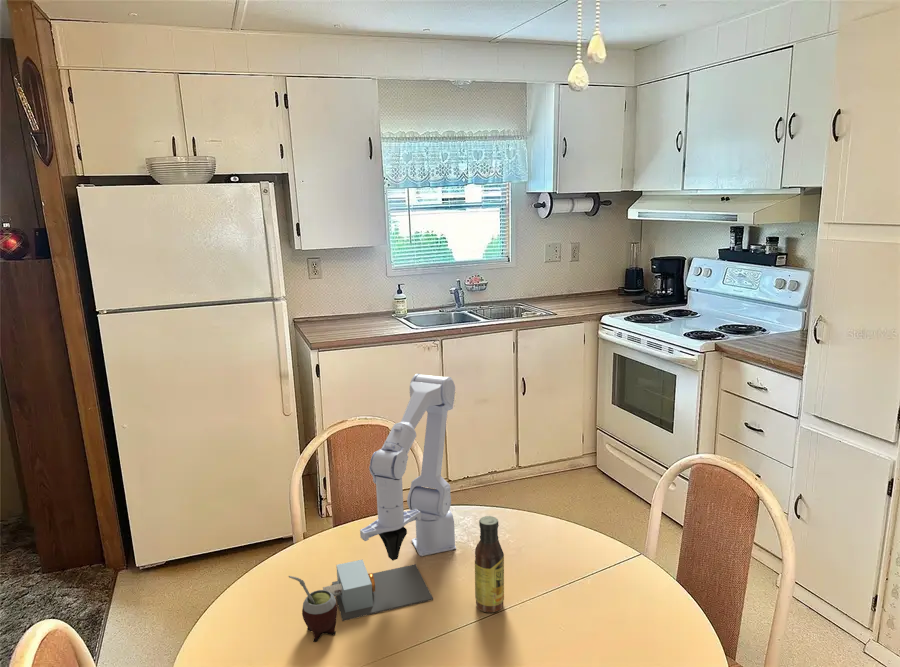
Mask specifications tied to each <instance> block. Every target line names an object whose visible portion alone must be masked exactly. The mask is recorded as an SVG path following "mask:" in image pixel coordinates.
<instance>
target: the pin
mask: <svg viewBox="0 0 900 667" xmlns="http://www.w3.org/2000/svg"><path fill="white" fill-rule="evenodd" d="M373 573H374V572H371V573H370V572H369V573H368V575H369V578H370V581H371V583H372V592H375V581H374V576H373ZM322 590H326V591H329V592H330V593H332V594H333V596H334V597H335V598H336V596H340V595H342V586H341V583H340V584H336V585H326V586H323V587H322Z"/></svg>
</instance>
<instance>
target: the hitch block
mask: <svg viewBox="0 0 900 667" xmlns="http://www.w3.org/2000/svg"><path fill="white" fill-rule="evenodd" d="M335 565H336V566H335V567H336V576H337V577H336V578H337V579H336V581H338V584H340V583H341V586H342V595H340V596H341V599H342V603H343V606H344V610H345V613H346V612H350V611H355V610H359V609H363V608H368V607H372V606H373V597H372V583H371V581H370V578H369V575H368V574H369V573H368V570H367V568H366V565H365V561H364V560H363V559H359V560H353V561H348V562H344V563H338V564H335Z"/></svg>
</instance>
